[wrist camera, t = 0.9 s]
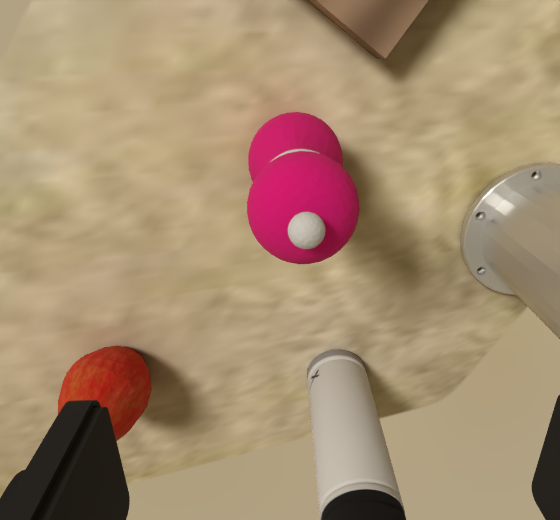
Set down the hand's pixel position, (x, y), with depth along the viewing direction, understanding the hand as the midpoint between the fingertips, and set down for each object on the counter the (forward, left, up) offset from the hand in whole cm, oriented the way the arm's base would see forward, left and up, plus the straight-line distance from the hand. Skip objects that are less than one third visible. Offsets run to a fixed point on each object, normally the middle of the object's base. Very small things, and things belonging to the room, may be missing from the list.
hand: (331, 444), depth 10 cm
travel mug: (-12, +21, -32) cm, 40 cm away
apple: (+10, +27, -32) cm, 43 cm away
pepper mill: (0, 0, -32) cm, 32 cm away
